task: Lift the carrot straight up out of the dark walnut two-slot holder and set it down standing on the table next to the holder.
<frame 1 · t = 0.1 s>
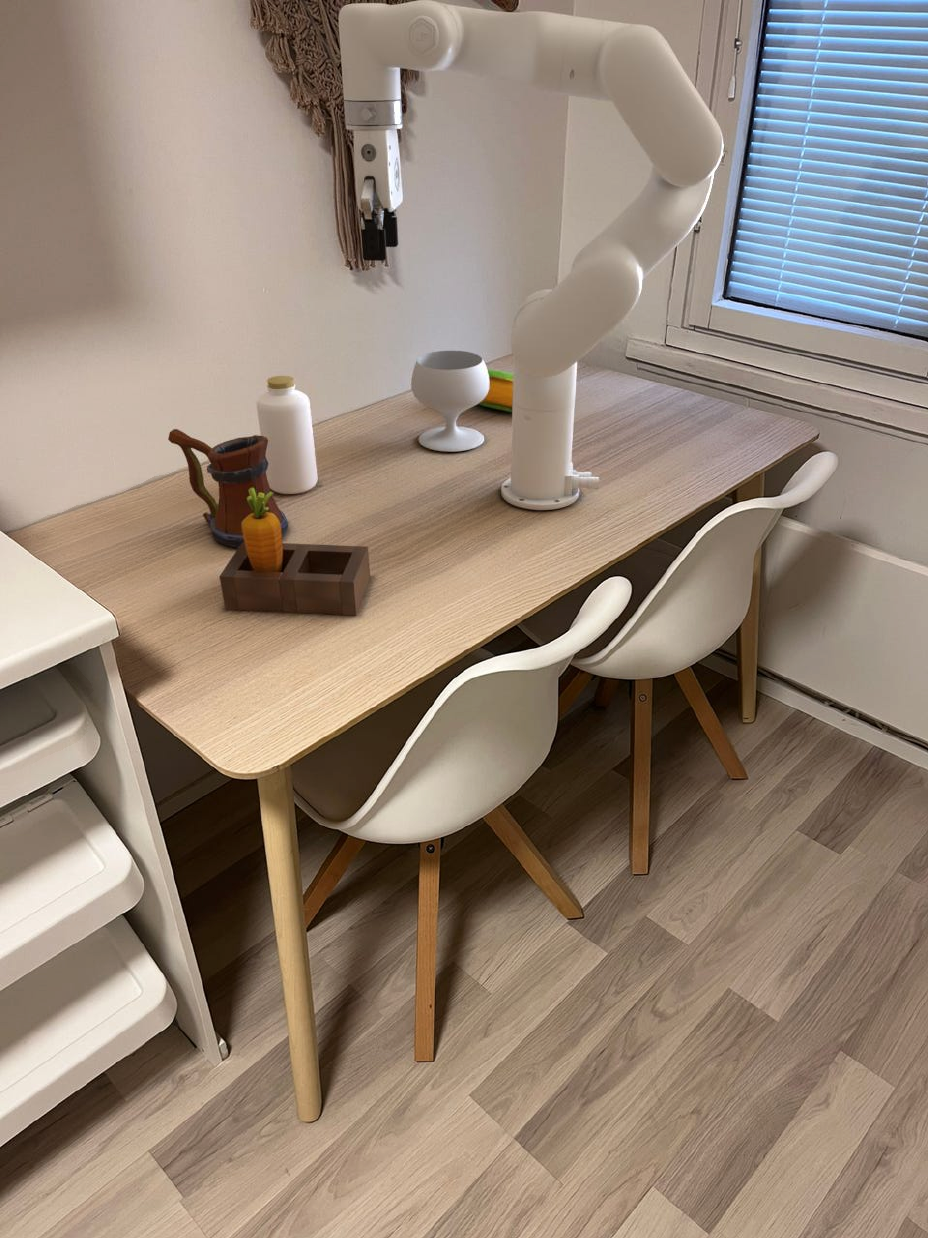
hand: (381, 252, 128), 37 cm above the table, tool pointing down, fingers open, 9 cm apart
white bottle: (293, 487, 150), on the table
mug: (233, 529, 137), on the table
holder: (299, 593, 121), on the table
chalice: (451, 441, 166), on the table
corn: (506, 409, 180), on the table
carrot: (270, 593, 121), resting in holder
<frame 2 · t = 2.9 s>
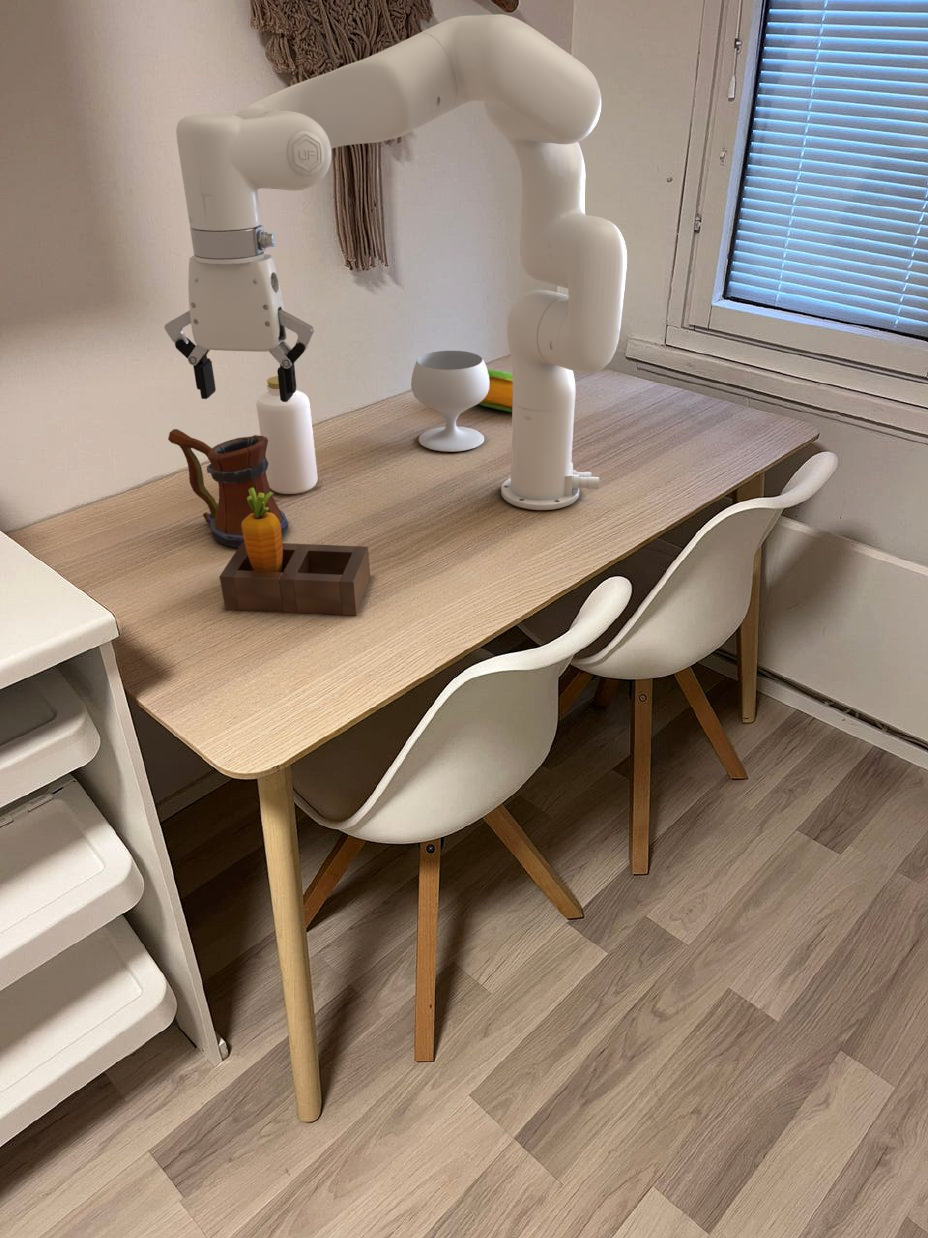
hand: (247, 396, 108), 27 cm above the table, tool pointing down, fingers open, 9 cm apart
nothing on the table moved.
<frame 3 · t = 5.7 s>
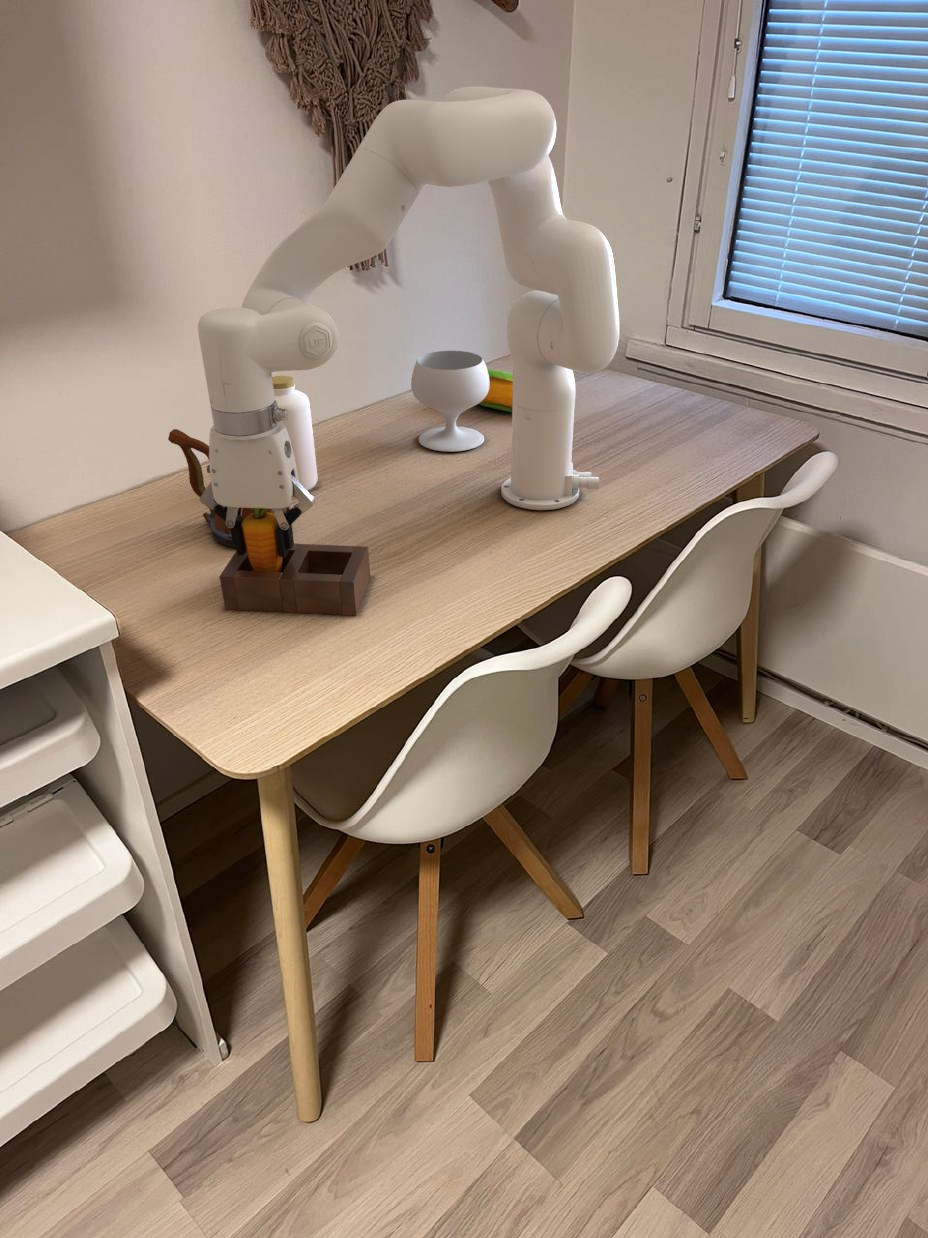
hand: (264, 550, 117), 6 cm above the table, tool pointing down, fingers closed on carrot, 4 cm apart
carrot: (271, 593, 121), resting in holder, touching gripper
everything else where it was.
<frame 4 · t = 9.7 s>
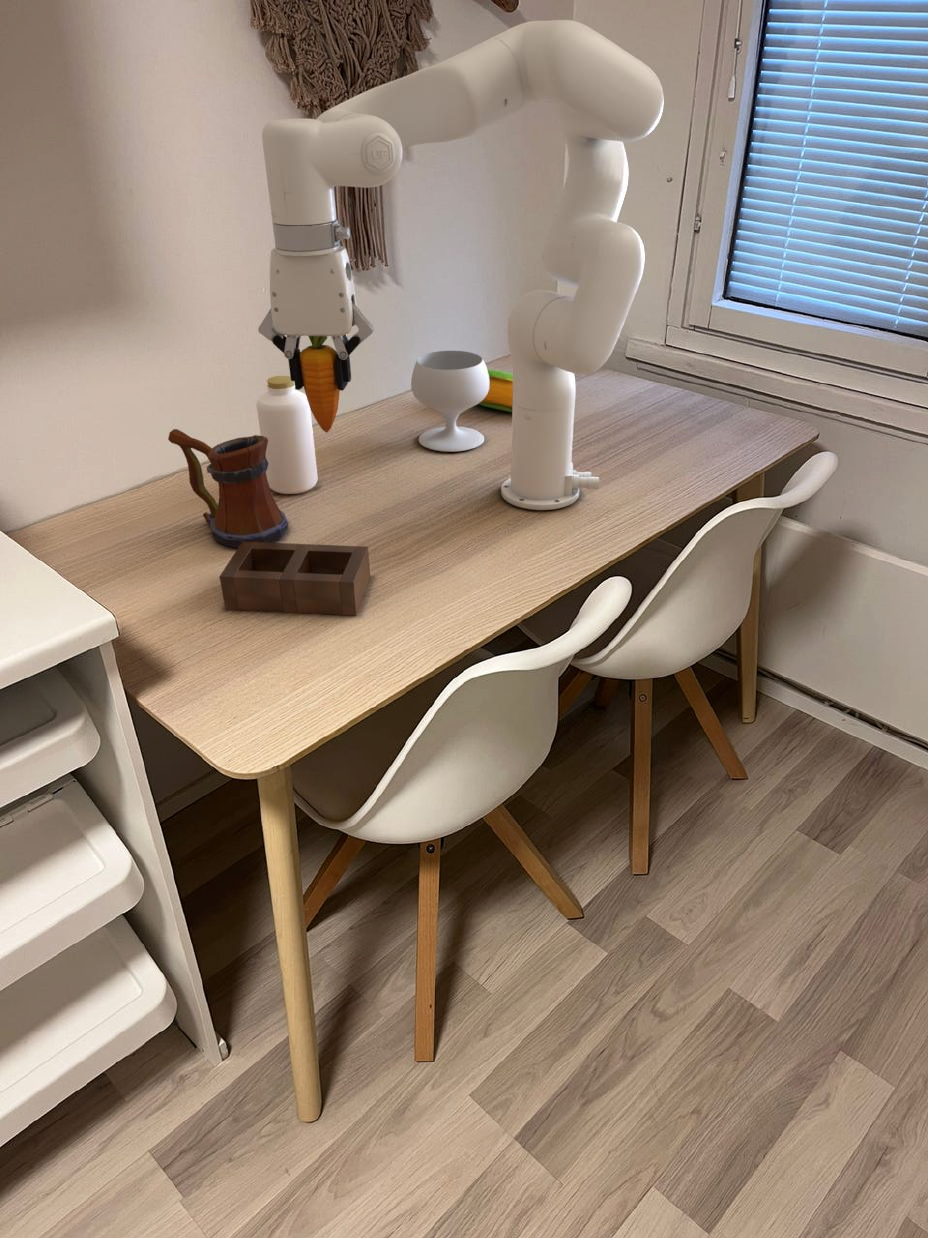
hand: (321, 385, 117), 25 cm above the table, tool pointing down, fingers closed on carrot, 4 cm apart
carrot: (326, 433, 121), point 18 cm above the table, touching gripper
everything else where it was.
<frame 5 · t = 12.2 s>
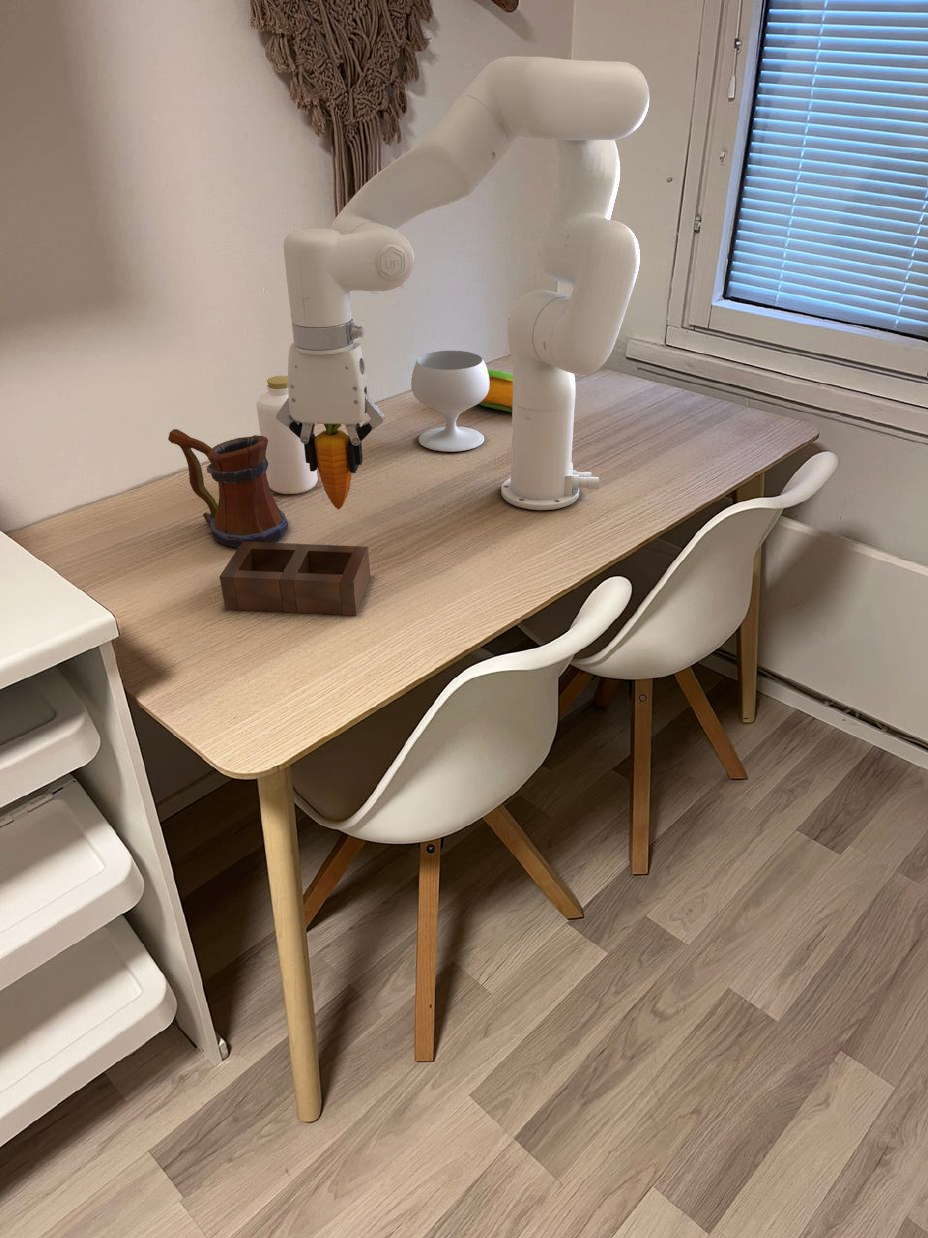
hand: (334, 467, 124), 13 cm above the table, tool pointing down, fingers closed on carrot, 4 cm apart
carrot: (338, 510, 128), point 6 cm above the table, touching gripper
everything else where it was.
when the fingers open (6 cm above the table, at t = 14.1 s): carrot stays where it is, on the table.
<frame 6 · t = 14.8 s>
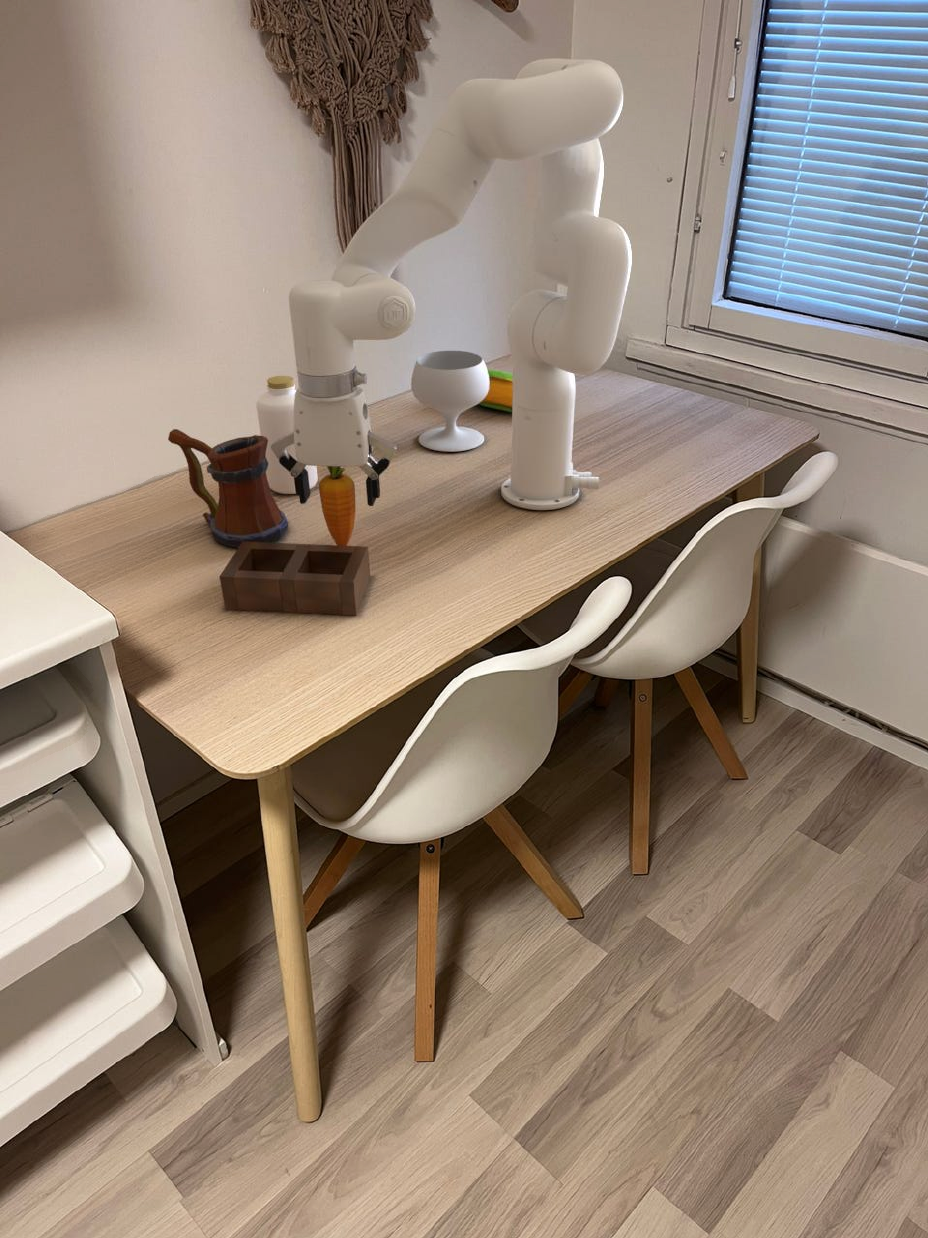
hand: (338, 500, 127), 8 cm above the table, tool pointing down, fingers open, 9 cm apart
carrot: (342, 550, 131), on the table
everything else where it was.
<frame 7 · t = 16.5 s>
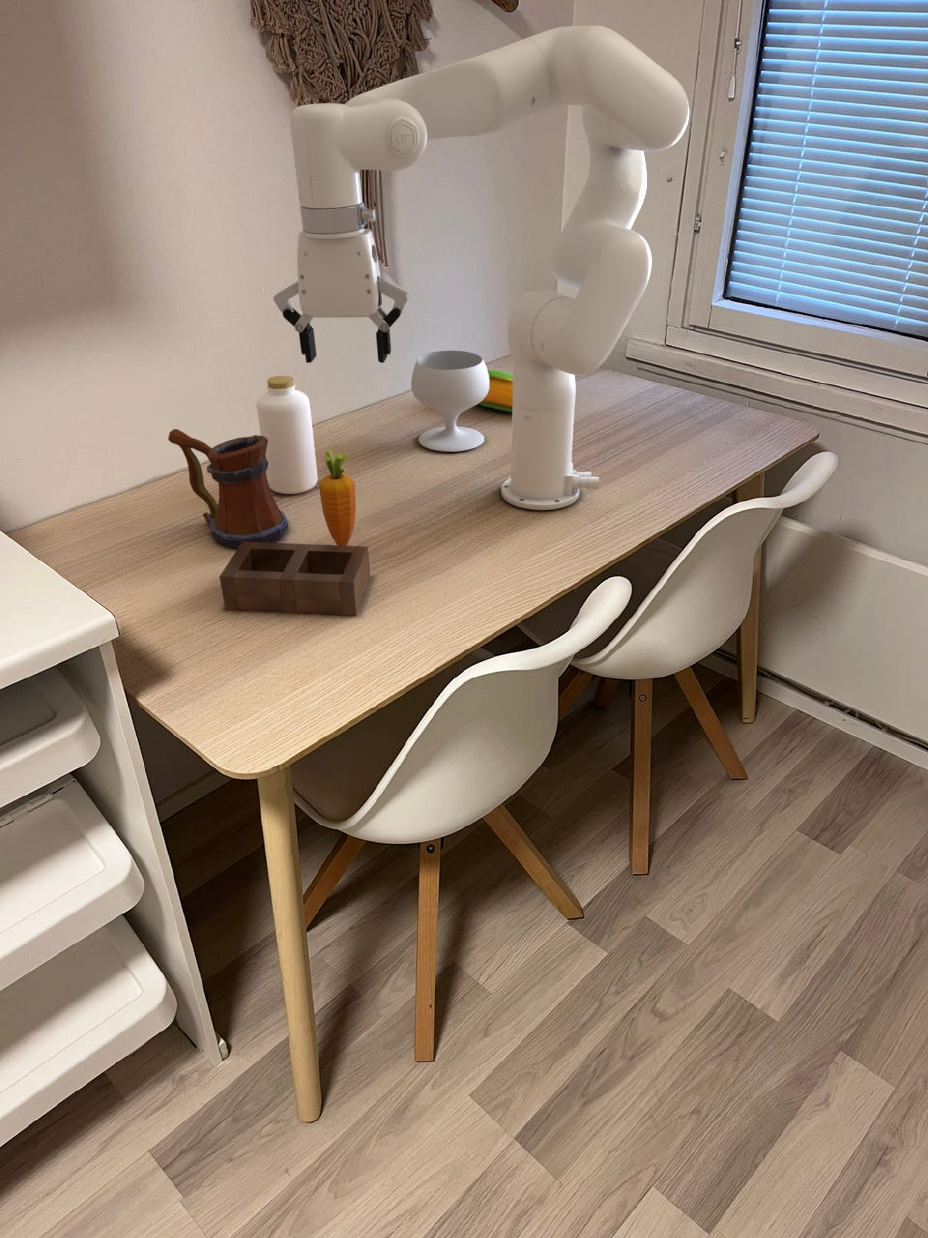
hand: (347, 359, 119), 27 cm above the table, tool pointing down, fingers open, 9 cm apart
nothing on the table moved.
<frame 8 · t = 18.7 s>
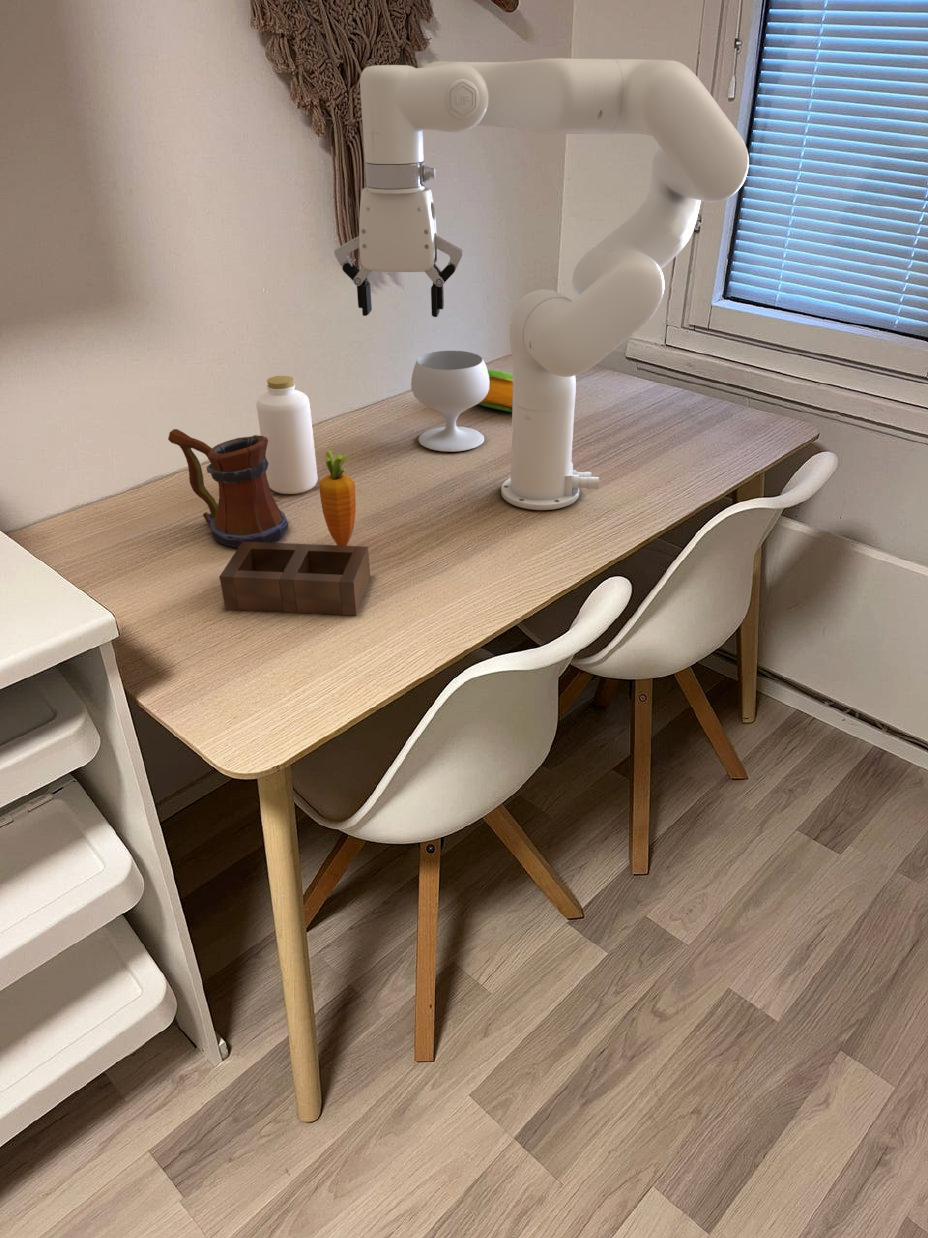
hand: (401, 313, 125), 30 cm above the table, tool pointing down, fingers open, 9 cm apart
nothing on the table moved.
at the end: carrot inside the target area (0.0 cm from its centre), on the table; carrot tilted 0°; the gripper is holding nothing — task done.
